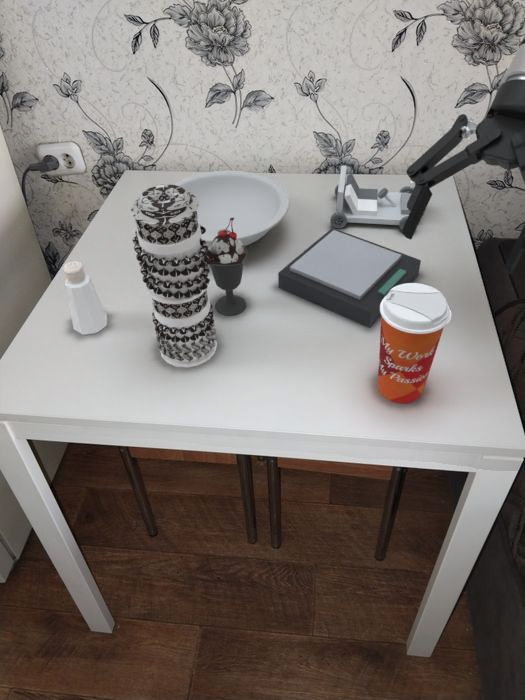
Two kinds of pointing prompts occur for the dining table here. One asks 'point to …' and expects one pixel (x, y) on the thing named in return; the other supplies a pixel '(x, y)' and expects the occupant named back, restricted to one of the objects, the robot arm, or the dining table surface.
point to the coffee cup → (409, 339)
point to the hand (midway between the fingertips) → (454, 253)
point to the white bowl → (237, 203)
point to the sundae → (227, 269)
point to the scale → (348, 275)
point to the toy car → (369, 204)
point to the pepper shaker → (83, 300)
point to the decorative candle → (175, 273)
